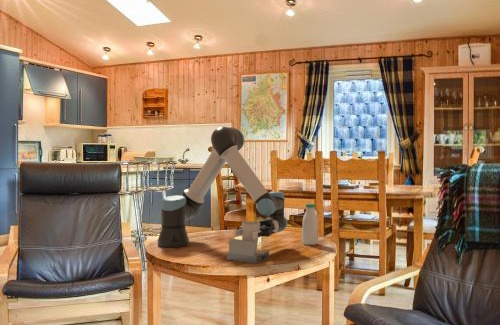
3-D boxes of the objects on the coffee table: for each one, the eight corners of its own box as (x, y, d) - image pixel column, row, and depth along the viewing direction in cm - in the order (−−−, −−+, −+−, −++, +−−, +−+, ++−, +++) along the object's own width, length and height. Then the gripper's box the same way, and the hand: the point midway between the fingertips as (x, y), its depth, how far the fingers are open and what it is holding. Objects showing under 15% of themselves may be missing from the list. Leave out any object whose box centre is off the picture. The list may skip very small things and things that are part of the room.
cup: (262, 251, 207) (264, 223, 207) (249, 253, 201) (250, 225, 201) (249, 248, 213) (250, 221, 212) (236, 250, 207) (237, 222, 207)
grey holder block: (226, 259, 204) (226, 238, 204) (240, 254, 215) (240, 234, 214) (257, 264, 197) (257, 242, 197) (269, 258, 208) (269, 237, 208)
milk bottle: (317, 245, 236) (317, 204, 236) (301, 244, 238) (301, 204, 237) (318, 242, 244) (318, 203, 243) (302, 242, 245) (303, 202, 245)
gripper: (288, 237, 218) (266, 246, 198) (247, 233, 228) (222, 241, 208) (288, 220, 218) (266, 228, 198) (247, 217, 227) (222, 223, 207)
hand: (244, 234), depth 203 cm, fingers open, 8 cm apart
